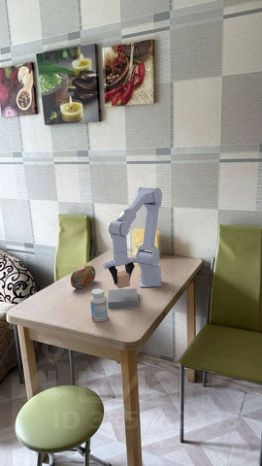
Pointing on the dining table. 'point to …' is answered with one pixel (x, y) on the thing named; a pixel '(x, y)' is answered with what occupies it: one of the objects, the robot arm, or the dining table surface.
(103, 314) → the pill bottle
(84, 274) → the tin
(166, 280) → the dining table surface
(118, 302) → the gray block
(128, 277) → the terracotta cube
